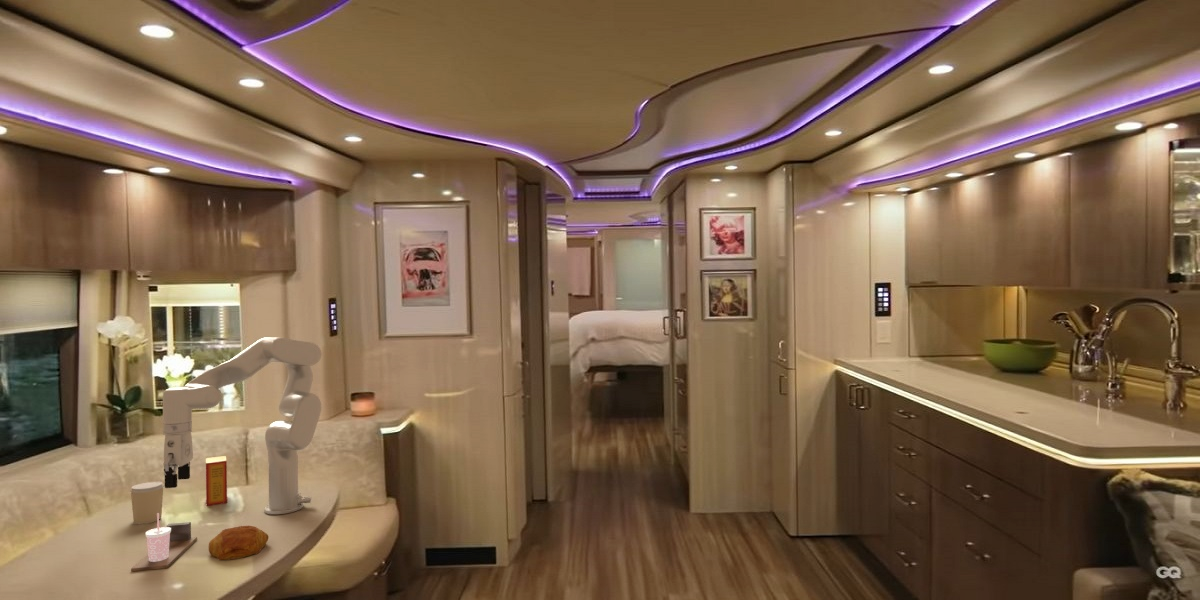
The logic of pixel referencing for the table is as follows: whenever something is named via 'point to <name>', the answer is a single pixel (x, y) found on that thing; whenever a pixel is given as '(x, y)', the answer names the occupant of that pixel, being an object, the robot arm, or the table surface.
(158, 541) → the beverage cup
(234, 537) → the croissant
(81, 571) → the table surface
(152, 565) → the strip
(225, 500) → the baking soda box
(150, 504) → the coffee cup
